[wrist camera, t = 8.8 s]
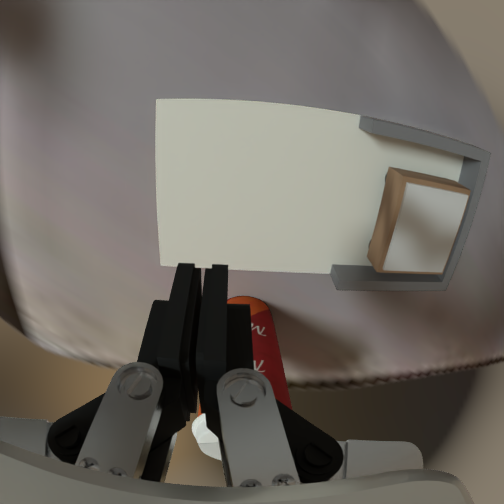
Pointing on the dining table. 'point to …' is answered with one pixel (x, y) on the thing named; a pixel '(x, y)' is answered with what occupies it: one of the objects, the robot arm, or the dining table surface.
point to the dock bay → (293, 188)
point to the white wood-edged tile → (416, 223)
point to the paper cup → (264, 362)
